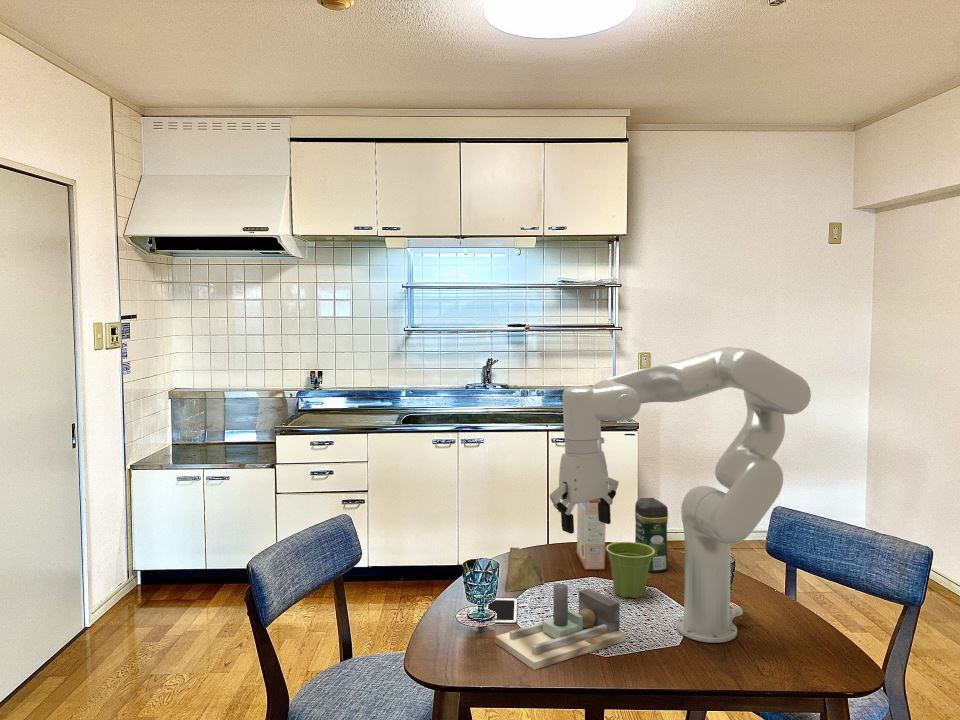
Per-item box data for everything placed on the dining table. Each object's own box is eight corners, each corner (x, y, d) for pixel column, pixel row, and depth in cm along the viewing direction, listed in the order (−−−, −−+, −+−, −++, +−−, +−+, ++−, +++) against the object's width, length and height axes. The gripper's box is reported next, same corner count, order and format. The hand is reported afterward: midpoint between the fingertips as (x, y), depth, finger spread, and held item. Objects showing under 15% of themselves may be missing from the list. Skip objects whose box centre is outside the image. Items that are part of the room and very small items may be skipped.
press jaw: (564, 624, 161) (564, 578, 160) (582, 634, 156) (582, 587, 155) (542, 631, 158) (542, 584, 157) (560, 641, 153) (560, 593, 152)
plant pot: (645, 606, 175) (645, 560, 174) (598, 596, 182) (598, 551, 181) (660, 590, 185) (661, 546, 185) (616, 581, 192) (616, 538, 191)
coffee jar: (631, 561, 207) (631, 496, 205) (658, 560, 207) (659, 495, 206) (642, 573, 197) (643, 505, 196) (671, 572, 198) (671, 504, 197)
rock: (545, 568, 195) (508, 562, 195) (549, 550, 189) (510, 544, 190) (542, 605, 187) (502, 599, 187) (545, 587, 181) (505, 581, 182)
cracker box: (606, 570, 200) (606, 494, 198) (584, 570, 200) (584, 494, 198) (597, 553, 214) (597, 481, 212) (576, 553, 214) (576, 482, 212)
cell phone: (517, 601, 180) (517, 597, 180) (517, 627, 165) (517, 622, 165) (485, 600, 180) (485, 596, 180) (482, 626, 166) (482, 622, 166)
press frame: (583, 617, 169) (583, 585, 169) (625, 640, 157) (626, 606, 157) (495, 643, 157) (494, 608, 156) (534, 670, 145) (534, 632, 144)
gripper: (603, 438, 161) (606, 515, 162) (538, 449, 152) (542, 531, 153) (627, 442, 154) (630, 523, 156) (560, 455, 145) (564, 540, 147)
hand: (586, 527), depth 154 cm, fingers open, 9 cm apart
